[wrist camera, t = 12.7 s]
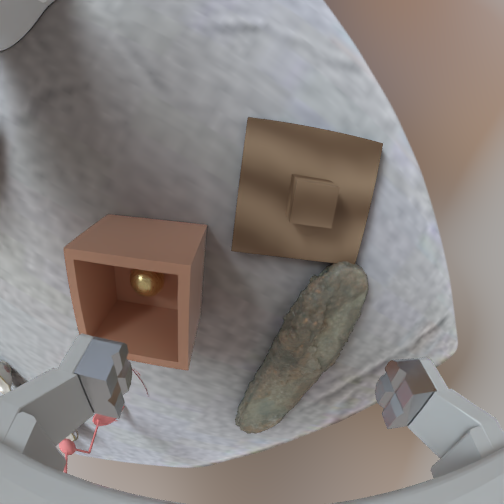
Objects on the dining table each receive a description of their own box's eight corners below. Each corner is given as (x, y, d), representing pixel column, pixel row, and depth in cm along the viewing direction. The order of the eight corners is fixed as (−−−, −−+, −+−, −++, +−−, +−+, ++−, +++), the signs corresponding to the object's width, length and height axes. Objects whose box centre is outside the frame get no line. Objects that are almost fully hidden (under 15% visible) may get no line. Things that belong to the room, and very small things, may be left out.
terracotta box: (107, 214, 32) (63, 247, 23) (207, 224, 33) (190, 265, 24) (114, 300, 37) (83, 348, 28) (201, 314, 37) (188, 370, 28)
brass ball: (135, 252, 33) (123, 268, 29) (168, 257, 33) (159, 273, 29) (137, 283, 34) (126, 300, 31) (168, 287, 35) (160, 306, 31)
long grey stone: (221, 411, 48) (273, 418, 50) (221, 435, 43) (275, 442, 45) (311, 243, 33) (380, 267, 35) (322, 267, 29) (397, 291, 30)
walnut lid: (247, 117, 28) (247, 115, 23) (379, 142, 28) (397, 146, 24) (231, 247, 33) (229, 265, 29) (352, 261, 34) (364, 280, 30)
